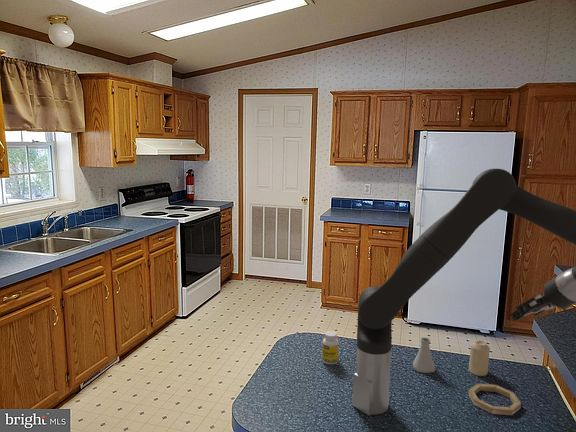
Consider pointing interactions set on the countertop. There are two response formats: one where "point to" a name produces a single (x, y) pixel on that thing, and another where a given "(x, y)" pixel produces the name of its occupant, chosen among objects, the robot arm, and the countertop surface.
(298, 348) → the countertop surface
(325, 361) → the supplement bottle
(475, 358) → the candle
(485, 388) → the maple ring
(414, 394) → the countertop surface
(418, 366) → the flask
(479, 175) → the robot arm
